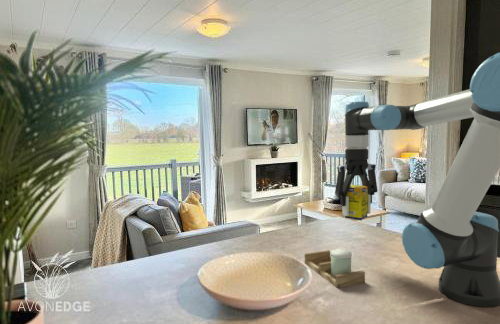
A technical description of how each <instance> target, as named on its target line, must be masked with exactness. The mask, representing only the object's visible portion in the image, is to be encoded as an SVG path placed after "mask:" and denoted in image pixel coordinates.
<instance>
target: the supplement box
mask: <svg viewBox="0 0 500 324" xmlns="http://www.w3.org/2000/svg"><path fill="white" fill-rule="evenodd" d="M347 197H349V216H345V215H344V218H345V219H349V220H350V219H351V220H356V221H362V220H364V219H366V218H367V217H368V213H367V211H368V187H367V186H363V185H360V184H351V185H350V188H349V191H348V193H347Z"/></svg>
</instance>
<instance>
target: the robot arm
mask: <svg viewBox="0 0 500 324" xmlns="http://www.w3.org/2000/svg"><path fill="white" fill-rule="evenodd" d="M470 79H471V80H470V84H469V89H466V90H462V91H459V92H455V93H451V94H447V95H443V96H440V97H436V98H432V99H429V100H425V101H422V102H419V103H415V104H410V105H393V104H380V105H373V106H369V105H370V104H369V102H368V101H351V102H347V103H346V104H345V111H344V112H345V113H344V117H345V118H344V119H345V120H344V125H345V127H344V128H345V131H344V133H345V140H344V141H345V143H344V144H345V145H344V146H345V147H346V149H345V152H344V153H345V154H344V156H345V163H344V164H343V165H337V167H336V168H337V178H336V184H335V190H334V194H335V195H337V196H339V197H340V201H339V202H340V203H339V204H340V206H341V207H342V209H341V211H342V213H341V214H342V215H343V216H344V217H345V216H349V197H347V193H348V191H349V188H350V186H351V185H352V182H353V179H355V177H356V176H358V177H359V178H360V180H361V183H362V186H367V187H368V211H367V215H371V204H372V203H373V196H374V195H375V193H378V183H377V175H376V164H374V163H369V162H368V160H369V149H368V147H369V145H370V144H369V142H370V141H369V138H370V136H369V134H370V133H369V131H397V130H399V131H400V130H421V129H424V128H426V127H429V126H436V125H439V124H443V123H449V122H455V121H460V120H461V121H462V120H465V119H471V118H473V120H472V122H471V125H470V126H469V128H468V130H467V133H466V135H465V137H464V139H463V141H462V144H461V146H460V147H459V149H458V151H457V153H456V156H455V158H454V160H453V163H452V164H451V167H450V168H449V171H448V172H447V174H446V177H445V179H444V181H443V182H442V185H441V187H440V189H439V191H438V193H437V195H436V197H435V199H434V201H433V204H432V205H427V206H425V207H424V208H423V209H422V211H421V213H420V215H419V217H418V220H417V221H416V222H410V223H409V224H407V225H406V226H405V227H404V228H403V230H402V233H401V242H402V246H403V248H404V251H405V253H406V255H407V256H408V258H409V259H410V260H411V261H412V262H413V263H414V264H415V265H416V266H419V267H420V268H422V269H427V270H431V269H432V270H433V269H441V268H442V271H441V273H440V276H439V278H438V286H437V287H438V288H437V289H438V290H439V292H440V293H441V294H442V295H443V296H446V297H447V298H449V299H450V300H452V301H453V300H454V301H455V302H458V303H462V304H464V305H468V306H474V307H483V308H490V307H491V308H493V307H499V306H500V278H499V275H498V271H497V268H498V267H497V266H498V265H497V264H498V262H497V261H498V245H499V244H498V243H499V241H498V240H499V232H500V229H499V221H498V218H496V217H495V216H494V215H491V214H488V213H484V212H480V211H477V210H478V208H479V206H480V205H481V202H482V201H483V199H484V198H485V195H486V193H487V192H488V190H489V188H490V187H491V184H492V183H493V181H494V179H495V178H496V176H497V174H498V172H499V170H500V52H497V53H495V54H493V55H492V56H489V57H488V58H487V59H485V60H484V61H482V63H481V64H480V65H479V66H478V67H477V69H475V71H474V73H473V74H472V76H471V78H470Z"/></svg>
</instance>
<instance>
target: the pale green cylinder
mask: <svg viewBox="0 0 500 324" xmlns="http://www.w3.org/2000/svg"><path fill="white" fill-rule="evenodd" d="M330 257H331V276H332V277H333V278H334V279H335V275H340V274H345V273H351V270H352V252H351V251H350V250H347V249H343V248H336V249H332V250H330Z"/></svg>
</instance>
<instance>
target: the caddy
mask: <svg viewBox="0 0 500 324" xmlns="http://www.w3.org/2000/svg"><path fill="white" fill-rule="evenodd" d="M304 264H305V265H306V266H307V267H308V268H310V269H311V270H313V271H315V273H317V274H318V275H319V276H321V277H322V278H323V279H325V280H326V281H327V282H328V283H330V284H331V285H332V286H334V287H335V288H337V289H341V288H344V287H345V288H346V287H350V286H355V285H360V284H365V283H366V282H365V280H366V275H365V274H366V272H365V271H364V270H358V271H355V270H353V269H351V273H345V274H340V275H335V279H334V278H333V277H332V276H331V250H329V249H327V250H320V251H314V252H306V253H304Z"/></svg>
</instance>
